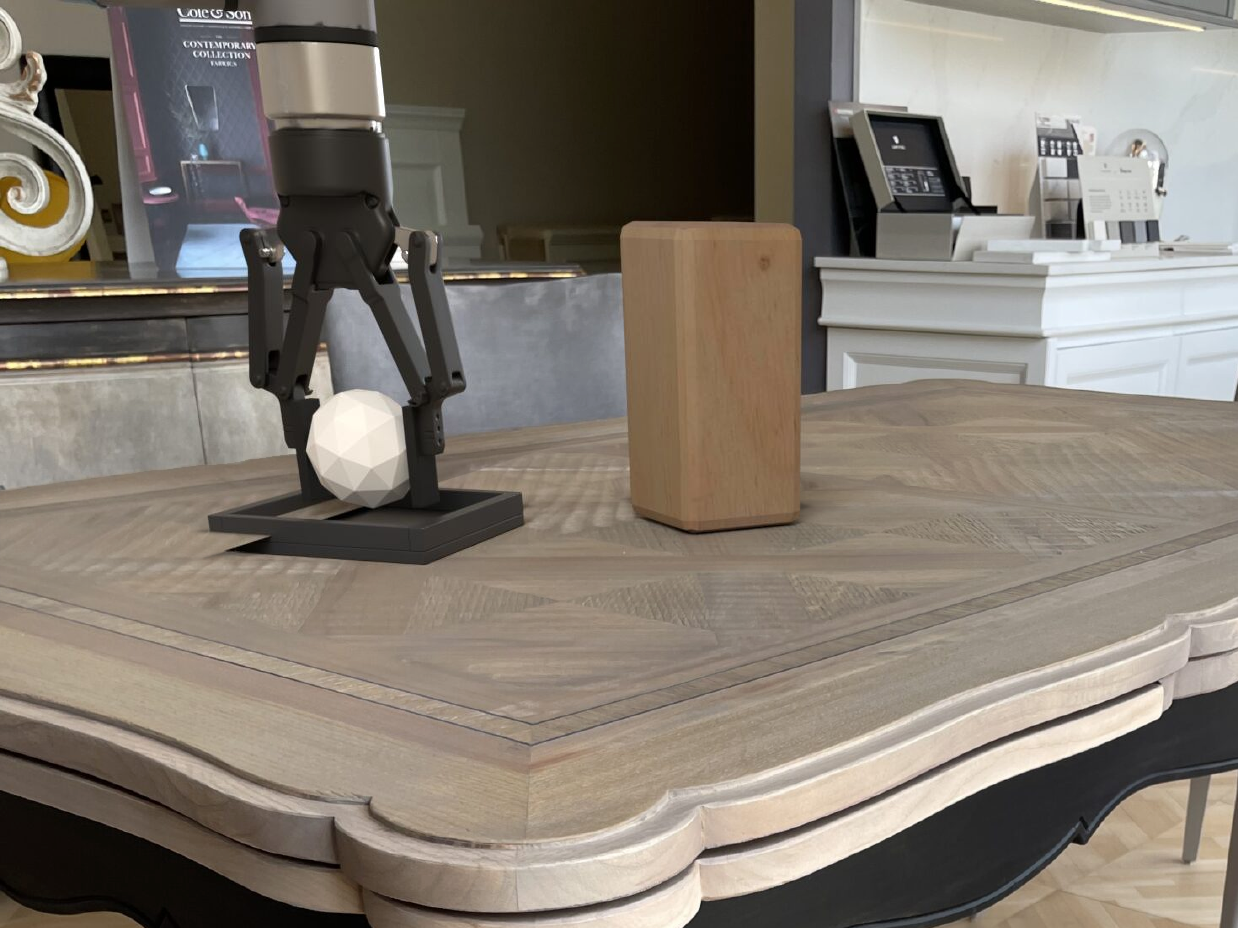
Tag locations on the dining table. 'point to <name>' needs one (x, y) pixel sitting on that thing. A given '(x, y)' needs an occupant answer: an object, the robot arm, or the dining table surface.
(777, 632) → the dining table surface
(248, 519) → the tray
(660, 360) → the wooden block
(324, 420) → the geometric ball
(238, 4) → the robot arm
